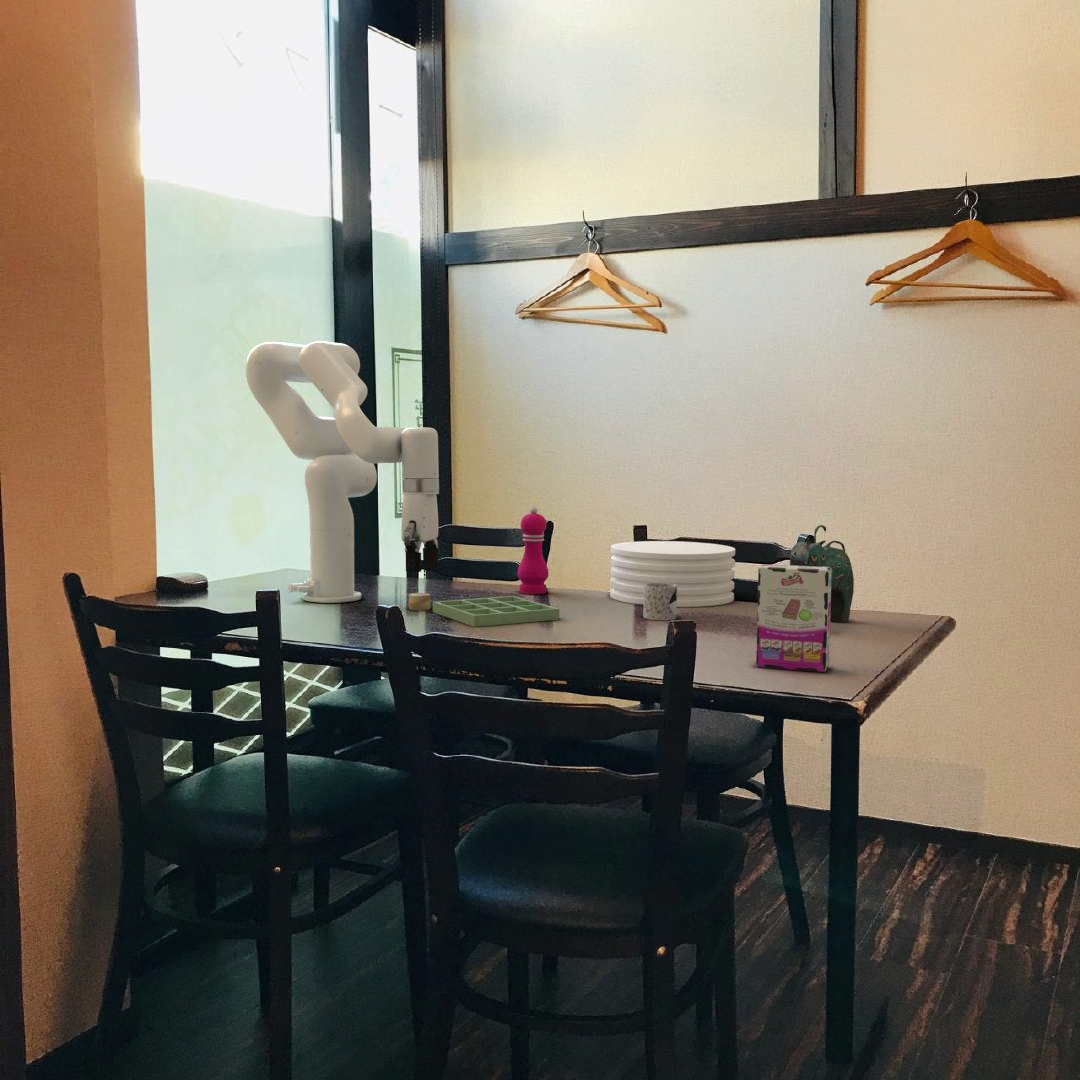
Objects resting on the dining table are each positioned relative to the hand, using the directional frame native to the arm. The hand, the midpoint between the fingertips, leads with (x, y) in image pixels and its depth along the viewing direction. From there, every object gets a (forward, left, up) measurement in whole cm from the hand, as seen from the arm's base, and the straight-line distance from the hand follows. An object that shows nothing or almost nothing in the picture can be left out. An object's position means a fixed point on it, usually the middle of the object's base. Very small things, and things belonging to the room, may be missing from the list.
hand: (422, 569), depth 233 cm
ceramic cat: (+62, -52, -9) cm, 81 cm away
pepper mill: (+33, +11, -9) cm, 35 cm away
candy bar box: (+30, -79, -9) cm, 85 cm away
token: (0, +1, -8) cm, 8 cm away
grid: (+10, -14, -8) cm, 19 cm away
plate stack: (+58, -9, -9) cm, 59 cm away
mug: (+40, -29, -9) cm, 50 cm away
